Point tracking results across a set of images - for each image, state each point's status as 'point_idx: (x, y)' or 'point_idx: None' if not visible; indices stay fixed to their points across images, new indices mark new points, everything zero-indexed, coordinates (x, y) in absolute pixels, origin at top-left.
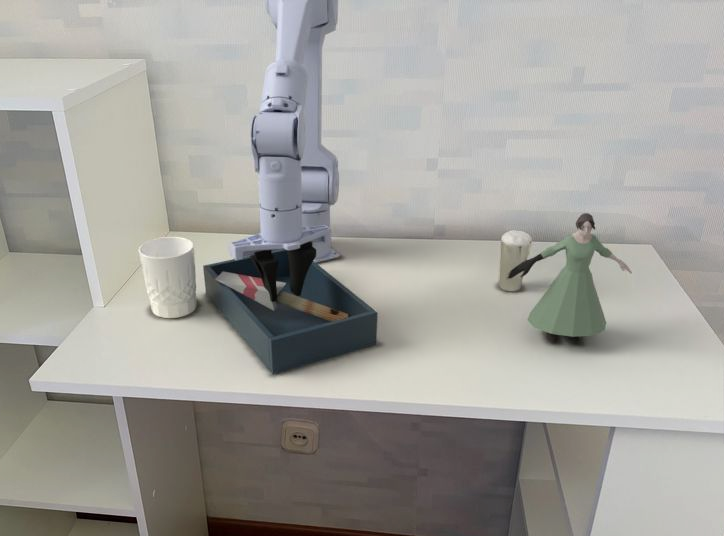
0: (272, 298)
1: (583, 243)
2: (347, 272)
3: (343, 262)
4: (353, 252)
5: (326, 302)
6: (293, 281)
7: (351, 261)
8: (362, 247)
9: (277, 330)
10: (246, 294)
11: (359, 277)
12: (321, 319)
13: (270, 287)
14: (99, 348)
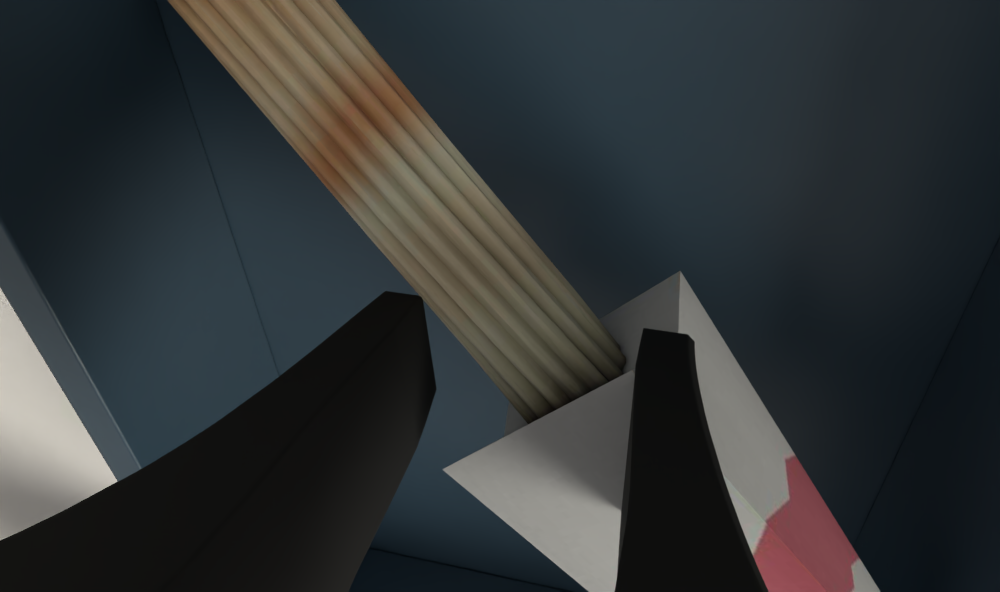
0: (690, 358)
1: None
2: (81, 424)
3: (92, 487)
4: (45, 514)
5: (227, 231)
6: (381, 443)
7: (57, 475)
8: (7, 519)
9: (751, 70)
10: (837, 534)
11: (25, 362)
12: None
13: (715, 469)
14: None
